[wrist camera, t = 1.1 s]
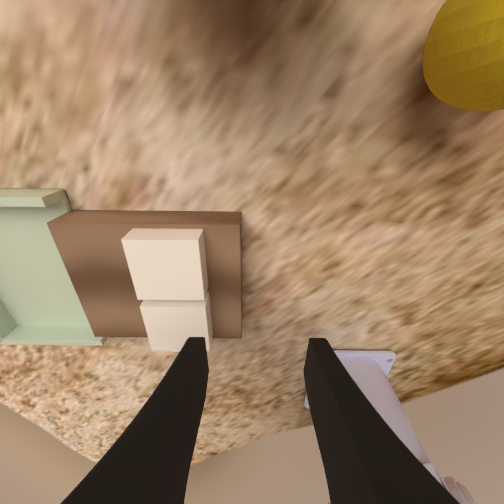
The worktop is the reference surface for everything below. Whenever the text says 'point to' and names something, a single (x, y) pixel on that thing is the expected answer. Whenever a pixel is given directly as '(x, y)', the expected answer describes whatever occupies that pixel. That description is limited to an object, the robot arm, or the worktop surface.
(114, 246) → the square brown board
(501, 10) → the lemon
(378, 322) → the worktop surface
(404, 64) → the worktop surface
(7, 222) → the tray
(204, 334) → the tile far
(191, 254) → the tile near
